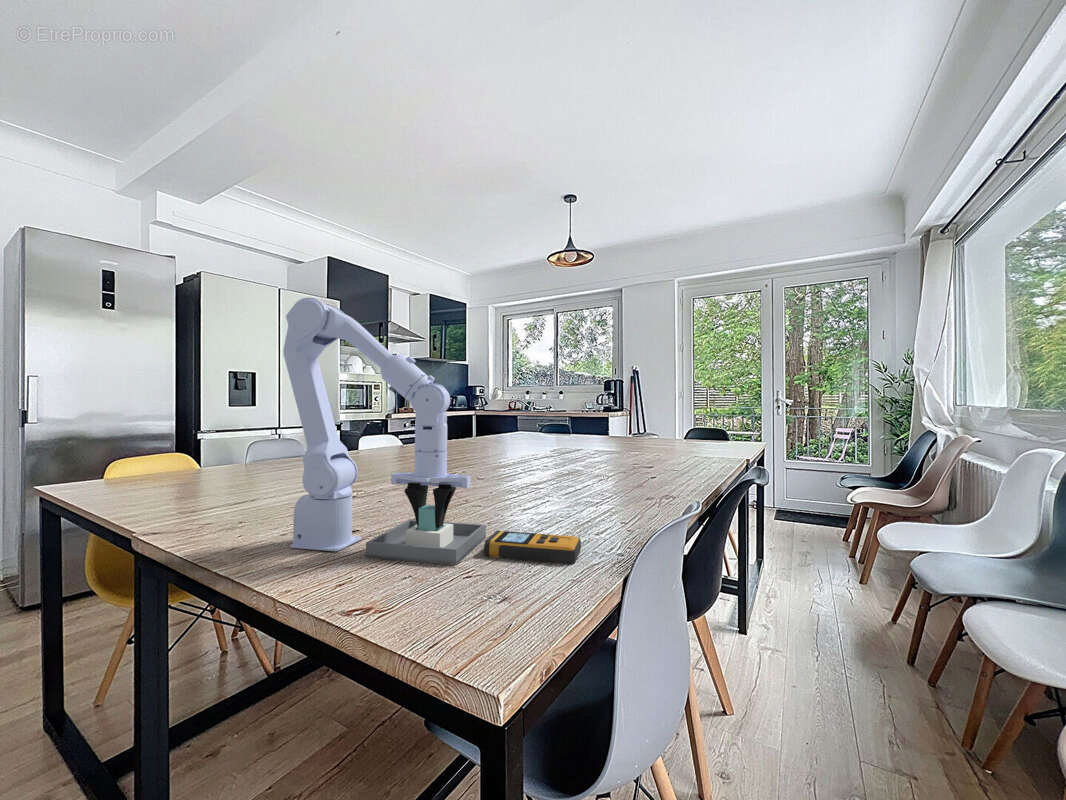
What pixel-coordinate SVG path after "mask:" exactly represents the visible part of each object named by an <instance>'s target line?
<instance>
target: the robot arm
mask: <svg viewBox="0 0 1066 800" xmlns="http://www.w3.org/2000/svg"><path fill="white" fill-rule="evenodd" d="M285 318H286V322H287V330H286V335H285V340H284V345H283V350H282V352H283V357H284V361H285V365H286V369H287V373H288V377H289V380H290V384H291V388H292V392H293V395H294V396H293V397H294V399H295V403H296V407H297V410H298V414H299V419H300V423H301V426H302V430H303V433H304V438H305V441H306V444H307V448H306V450H305V453H304V455H303V457H302V459H301V460H302V464H303V474H302V480H301V481H302V484H303V488H304V490H305V491H306V492H307V493H308V494H303V495H302V496H301V497H299V498H298V499H297V500H296V503H295V505H294V508H293V509H294V510H293V523H292V524H293V525H292V526H293V527H292V529H293V531H292V532H293V535H292V536H293V539H292V541H293V543H292V544H290V545H289V547H290V548H291V549H303V550H304V549H305V550H312V551H314V550H315V551H324V552H325V551H327V552H340V551H341V550H343V549H345V548H347V547H350V546H351V545H353V544H355V543H357V542H359V541H360V540H362V536H358V535H353V490H352V486H353V485H354V483H355V482H356V480H357V479H358V475H359V470H358V466H357V464H356V462H355V461H354V460H353V459H352V458H351V455H349V451H348V448H347V446H346V445H345V444H343V442H342V441H341V440H340V439H339V434H338V431H337V427H336V423H335V418H334V416H333V412H332V408H331V404H330V400H329V398H328V397H329V396H328V393H327V389H326V385H325V382H324V378H323V374H322V370H321V365H320V362H319V358H320V356H321V354H322V353H323V352H324V351H325V349H326V348H328V347H329V346H330V345H331V344H333V343H334V342H336V341H337V340H338V339H339V340H343V341H346V342H347V343H349V345H351V346H353V347H354V348H356V349H357V350H358V351H359V352H360V353H362V355H364V356H365V357H367V358H368V359H369V360H370V361H371V362H373V363H374V364H375V365H377V366H378V367H379V368H380V375H381V379H382V380H384V382H385V383H387V384H388V385H389V386H390V387H391V388H392V389H394V390H395V391H396V392H397V393H398V394H400V395H401V396H402V397H403V398H404V399H406V401H408V402H410V405H411V408H412V410H413V411H414V413H415V424H414V425H415V426H414V472H395V473H391V477H390V485H407V486H406V488H404V494H405V495H406V497H407V499H408V501H409V502H410V505H411V509H412V511H413V514H414V518H415V520H416V522H417V526H419V508H421V507H423V506H424V505H427V499H428V498H427V497H428V490H429V487H436V488H434V489H432V494H433V499H434V505H435V524H436V528H440V527H441V526H443V524H444V522H445V519H446V515H447V514H446V513H447V510H448V507H449V505H450V502H451V500H452V498H453V496H454V494H455V492H456V490H457V488H461V489H469V488H471V486H472V485H471V484H472V483H471V482H472V481H471V479H472V478H471V477H472V476H471V475H464V474H462V475H461V474H455V473H448V423H447V422H448V413H447V410H449V407H450V405H451V396H450V393H449V391H448V390H447V388H445V386H444V385H442V384H440V383H434V381H435V379H436V378H435V377H434V376H432V375H431V374H430V375H428V374H426V373H425V372H424V371H423V370H421V369H420V368H419V367H418V366H417V365H416V364H415V363H416V359H415V358H413V357H411V356H407V357H406V356H405V355H404V354H395V355H394V354H393V353H391V352H390V351H389V350H388V349H387V348H386V347H385V346H384V345H383V344H382V343H381V342H380V341H379V340H377V339H376V337H374V336H373V335H372V334H371V333H370V332H369V331H368V330H367V329H366V328H365V327H364V326H362V325H361V324H360V323H359V322H358V321H357V320H355V319H354V318H353V317H351V316H349V315H348V314H346V313H344V312H343V311H342V310H341V309H340V308H338V307H335V306H331V305H329V304H326V303H323V302H321V300H318V299H317V298H315V297H310V296H309V297H302V298H300V299H299V300H298V301H296V302H295V303H294V304H293V305H292V307H291V308H290V309H289V311H288V312H287V313H286V316H285Z"/></svg>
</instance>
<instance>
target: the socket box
mask: <svg viewBox="0 0 1066 800" xmlns="http://www.w3.org/2000/svg"><path fill="white" fill-rule="evenodd" d="M486 529H487V525H486V524H482V523H481V524H479V523H466V522H465V523H464V522H451V521H444V524H443V526H441V529H440V530H438V531H437V532H436V531H422V530H419V526H417V522H416V519H407V520H406V521H404V522H402V523H400V524H398V525H396V526H395V527H393V528H391V529H389V530H387V531H385V532H383V533H381V534H379V535H378V536H376V537H373V538H372V539H370V540H368V541H367V542H365V558H368V559H380V560H381V559H383V560H393V561H402V562H403V561H404V562H415V563H428V564H440V565H452V566H457V565H458V564H459V563H460V562H461V561H462V560H464V558H466V556H468V555H469V554H470V552H472V551H473V550H474V549H475V548H476V547H478V545H480V544H481V543H482V542H483V541H484V540H485V539H486V534H487V533H486V532H487V530H486Z"/></svg>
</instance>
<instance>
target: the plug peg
mask: <svg viewBox="0 0 1066 800" xmlns="http://www.w3.org/2000/svg"><path fill="white" fill-rule="evenodd" d="M440 529H441V527H440V528H436V524H435V504H434V505H433V504H426V505H424V506H423V507H421V508H419V530H422V531H436V532H437V531H438V530H440Z"/></svg>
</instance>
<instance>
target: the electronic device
mask: <svg viewBox="0 0 1066 800" xmlns="http://www.w3.org/2000/svg"><path fill="white" fill-rule="evenodd" d="M483 546H484V547H483V552H484V553H483V554H484V557H489V558H500V559H507V560H517V561H528V562H540V563H550V564H562V565H574V564H576V562H577V560H578V558H579V555H580V553H581V550H582V541H581V538H580V537H577V536H572V535H561V534H547V533H546V534H545V533H534V532H533V533H532V532H523V531H521V532H520V531H510V530H509V531H508V530H507V531H506V530H505V531H504V530H496V531H495V532H494V533H492V534H491V535H490V536H489V537H488V538H487V539H486V540H485V541H484V545H483Z"/></svg>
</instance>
